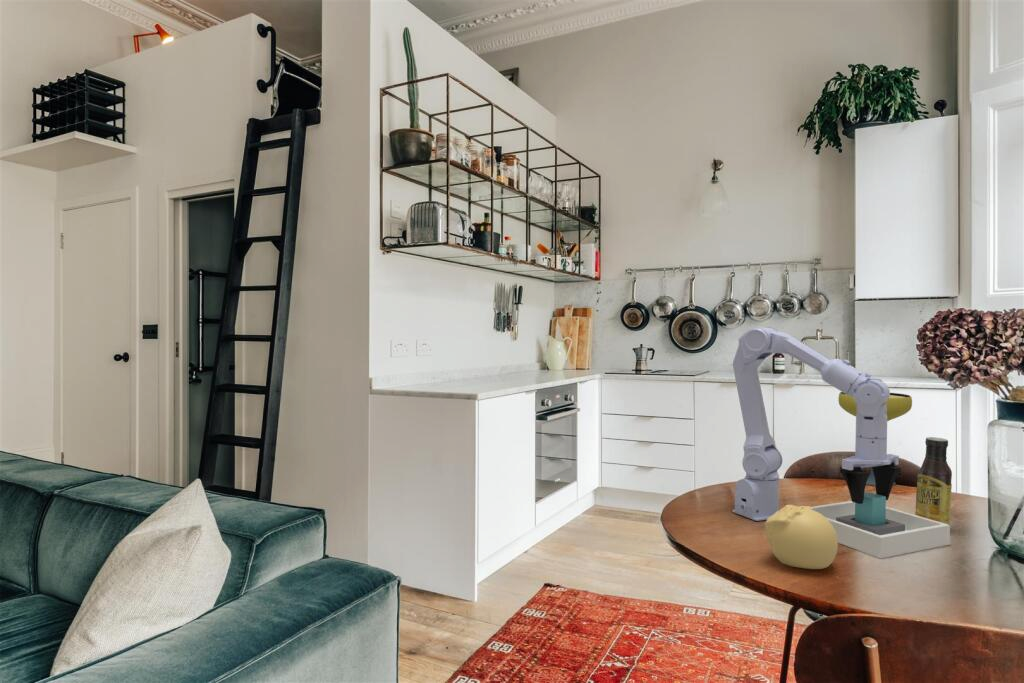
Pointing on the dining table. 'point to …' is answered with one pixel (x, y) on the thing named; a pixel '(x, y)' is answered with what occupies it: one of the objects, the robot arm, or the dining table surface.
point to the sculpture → (802, 537)
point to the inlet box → (885, 531)
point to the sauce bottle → (934, 483)
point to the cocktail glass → (895, 405)
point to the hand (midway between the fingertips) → (869, 500)
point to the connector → (871, 510)
